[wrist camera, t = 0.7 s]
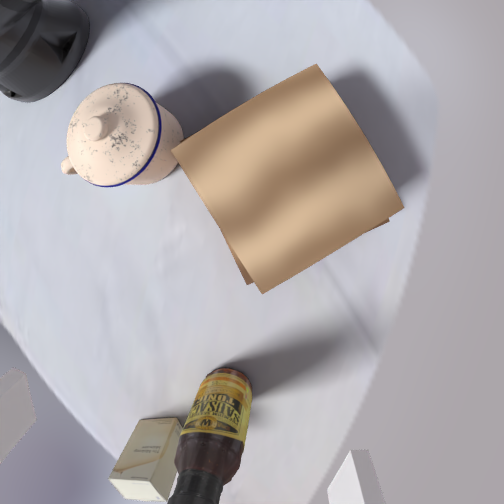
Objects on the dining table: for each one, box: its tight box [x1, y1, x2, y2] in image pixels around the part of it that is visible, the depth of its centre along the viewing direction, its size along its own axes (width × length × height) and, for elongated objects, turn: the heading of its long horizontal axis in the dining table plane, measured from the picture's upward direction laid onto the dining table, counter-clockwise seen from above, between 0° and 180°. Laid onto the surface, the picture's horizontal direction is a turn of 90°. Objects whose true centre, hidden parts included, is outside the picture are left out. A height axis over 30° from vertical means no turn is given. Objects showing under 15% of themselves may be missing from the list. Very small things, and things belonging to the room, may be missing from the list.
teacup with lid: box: [61, 83, 184, 187], centre depth 27 cm, size 12×9×12 cm
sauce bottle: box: [167, 368, 252, 504], centre depth 27 cm, size 7×6×20 cm
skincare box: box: [108, 418, 183, 502], centre depth 33 cm, size 6×4×12 cm
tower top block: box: [171, 64, 404, 294], centre depth 27 cm, size 14×14×4 cm
